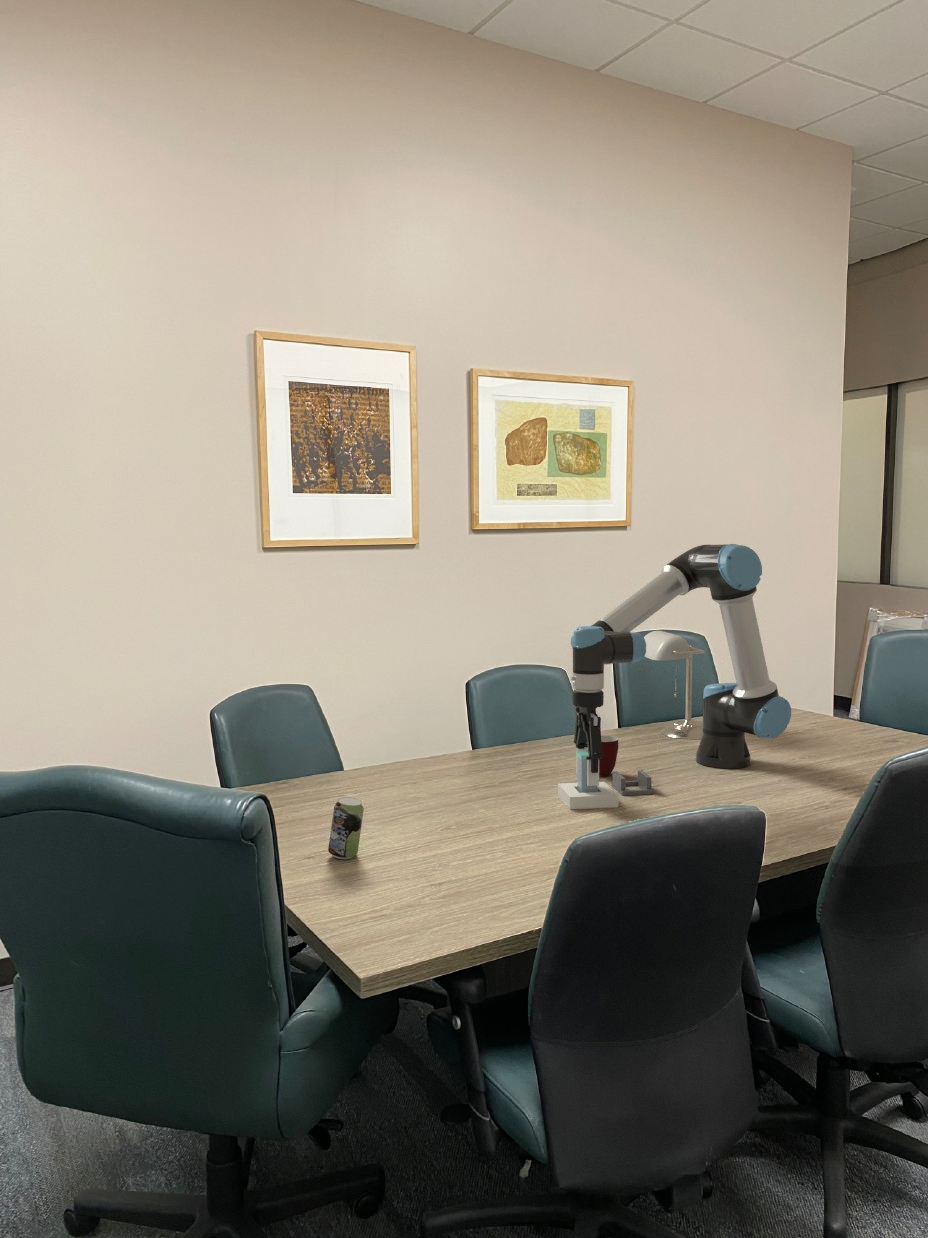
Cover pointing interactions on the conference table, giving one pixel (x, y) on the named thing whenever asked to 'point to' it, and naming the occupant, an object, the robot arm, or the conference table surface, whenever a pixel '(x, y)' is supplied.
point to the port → (587, 796)
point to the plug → (583, 773)
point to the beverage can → (346, 828)
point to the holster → (632, 784)
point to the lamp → (672, 649)
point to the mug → (608, 755)
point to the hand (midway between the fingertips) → (587, 779)
